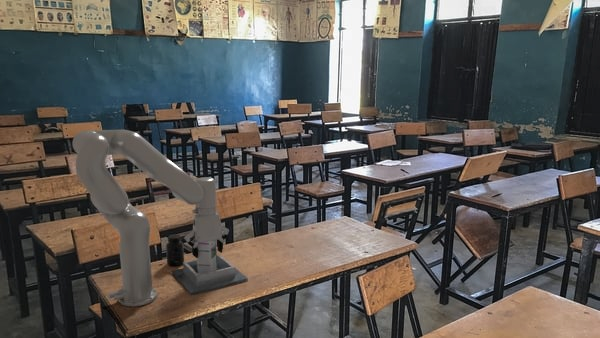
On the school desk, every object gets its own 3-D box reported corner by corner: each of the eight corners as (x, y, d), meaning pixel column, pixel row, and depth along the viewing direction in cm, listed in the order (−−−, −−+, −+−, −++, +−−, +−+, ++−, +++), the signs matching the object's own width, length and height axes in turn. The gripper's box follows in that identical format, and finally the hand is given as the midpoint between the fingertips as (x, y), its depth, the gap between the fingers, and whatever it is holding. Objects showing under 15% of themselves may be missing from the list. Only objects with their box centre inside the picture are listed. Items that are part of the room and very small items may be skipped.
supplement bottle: (166, 262, 186) (164, 234, 184) (182, 259, 189) (181, 232, 187) (168, 268, 180) (166, 240, 178) (185, 265, 183) (184, 237, 180)
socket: (191, 295, 158) (190, 282, 157) (172, 273, 176) (171, 261, 175) (247, 280, 169) (247, 268, 168) (224, 261, 187) (223, 249, 186)
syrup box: (212, 278, 169) (210, 241, 166) (197, 277, 170) (195, 240, 167) (217, 272, 174) (216, 236, 171) (203, 271, 175) (202, 235, 173)
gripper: (187, 217, 160) (189, 262, 163) (231, 209, 169) (233, 252, 172) (180, 211, 166) (182, 255, 169) (223, 205, 175) (225, 246, 178)
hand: (208, 254), depth 171 cm, fingers open, 9 cm apart
